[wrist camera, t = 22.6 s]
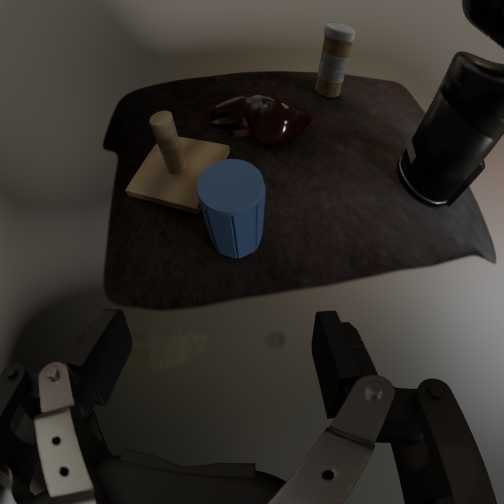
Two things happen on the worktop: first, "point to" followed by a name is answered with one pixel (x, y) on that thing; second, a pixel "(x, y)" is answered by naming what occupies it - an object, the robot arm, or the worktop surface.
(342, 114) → the worktop surface
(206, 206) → the blue sleeve
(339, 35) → the sprinkles bottle
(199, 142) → the dowel stand
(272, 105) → the dark red glossy lump
